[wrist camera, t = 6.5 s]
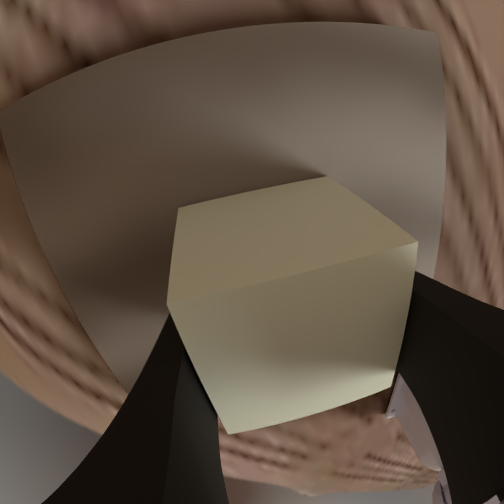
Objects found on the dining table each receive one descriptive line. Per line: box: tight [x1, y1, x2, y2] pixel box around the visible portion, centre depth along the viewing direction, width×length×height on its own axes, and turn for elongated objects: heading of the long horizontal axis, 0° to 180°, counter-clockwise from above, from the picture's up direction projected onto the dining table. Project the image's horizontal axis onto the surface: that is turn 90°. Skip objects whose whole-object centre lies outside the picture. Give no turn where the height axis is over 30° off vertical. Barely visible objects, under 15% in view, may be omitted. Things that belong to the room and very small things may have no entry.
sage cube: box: [167, 176, 418, 434], centre depth 9 cm, size 5×5×5 cm
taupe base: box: [0, 22, 446, 394], centre depth 12 cm, size 16×16×2 cm
